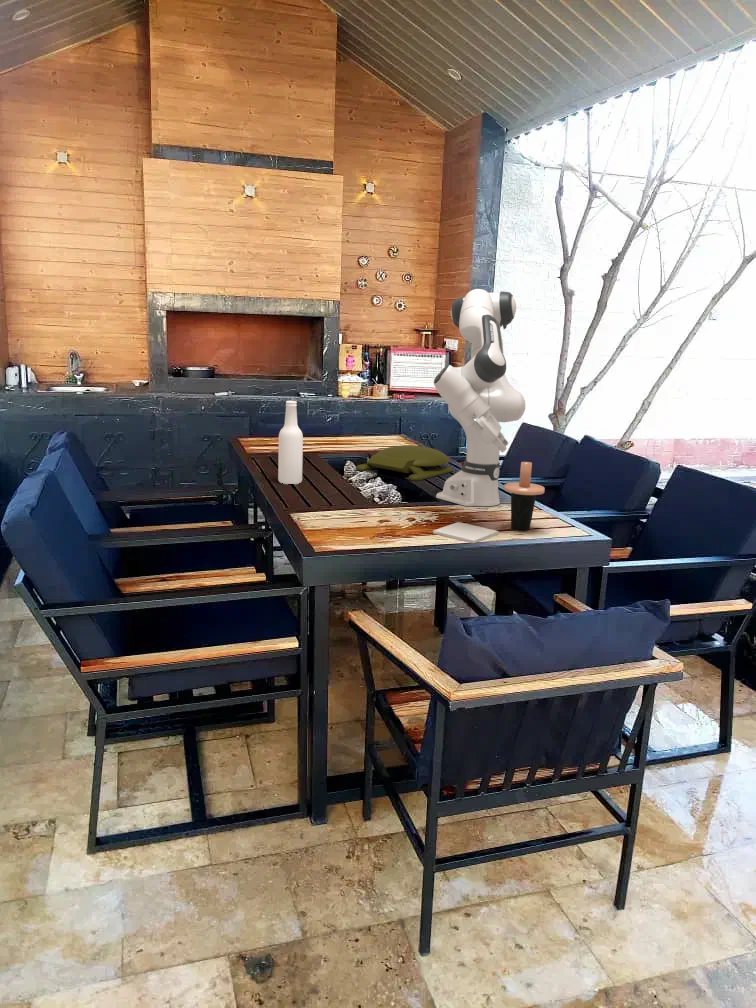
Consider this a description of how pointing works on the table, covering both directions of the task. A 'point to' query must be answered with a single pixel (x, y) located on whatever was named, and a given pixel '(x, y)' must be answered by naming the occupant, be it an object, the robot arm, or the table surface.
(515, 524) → the cup
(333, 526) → the table surface
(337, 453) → the table surface
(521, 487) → the lid
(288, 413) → the alcohol
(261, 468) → the table surface
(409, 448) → the green turtle
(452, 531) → the mat
